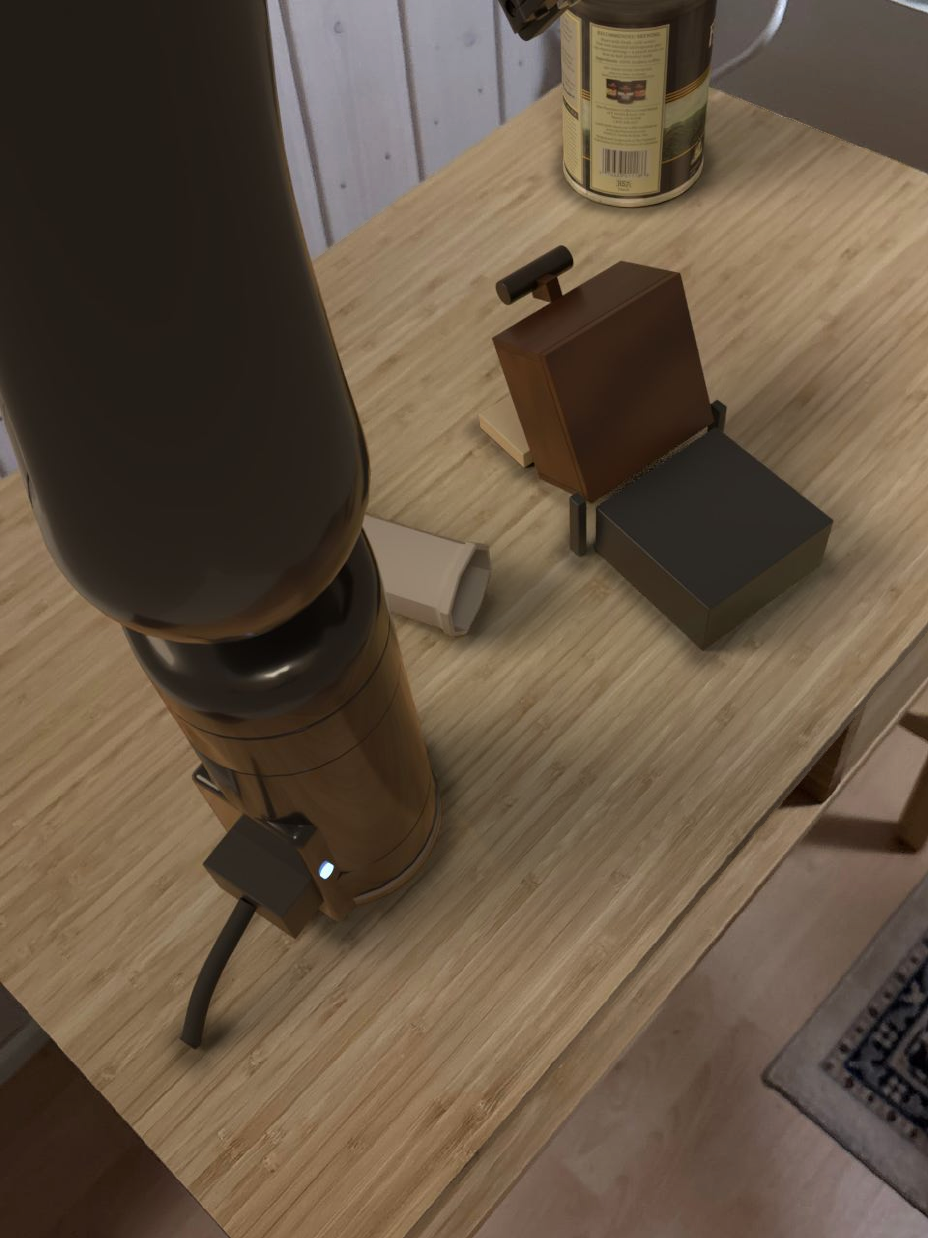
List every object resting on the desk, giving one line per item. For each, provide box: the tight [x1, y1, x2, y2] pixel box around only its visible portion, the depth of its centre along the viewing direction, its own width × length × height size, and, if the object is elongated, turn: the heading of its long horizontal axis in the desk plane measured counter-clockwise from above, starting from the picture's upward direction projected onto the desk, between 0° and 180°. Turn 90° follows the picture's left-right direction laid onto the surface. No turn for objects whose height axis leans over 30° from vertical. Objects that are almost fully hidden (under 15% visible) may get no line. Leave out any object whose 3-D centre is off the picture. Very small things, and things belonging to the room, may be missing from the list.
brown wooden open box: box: [491, 244, 714, 505], centre depth 63 cm, size 11×9×7 cm
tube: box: [363, 512, 492, 638], centre depth 65 cm, size 5×5×25 cm
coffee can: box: [559, 0, 718, 208], centre depth 78 cm, size 10×10×14 cm
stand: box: [568, 399, 834, 651], centre depth 62 cm, size 10×11×5 cm
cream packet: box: [478, 394, 534, 468], centre depth 70 cm, size 4×3×1 cm
